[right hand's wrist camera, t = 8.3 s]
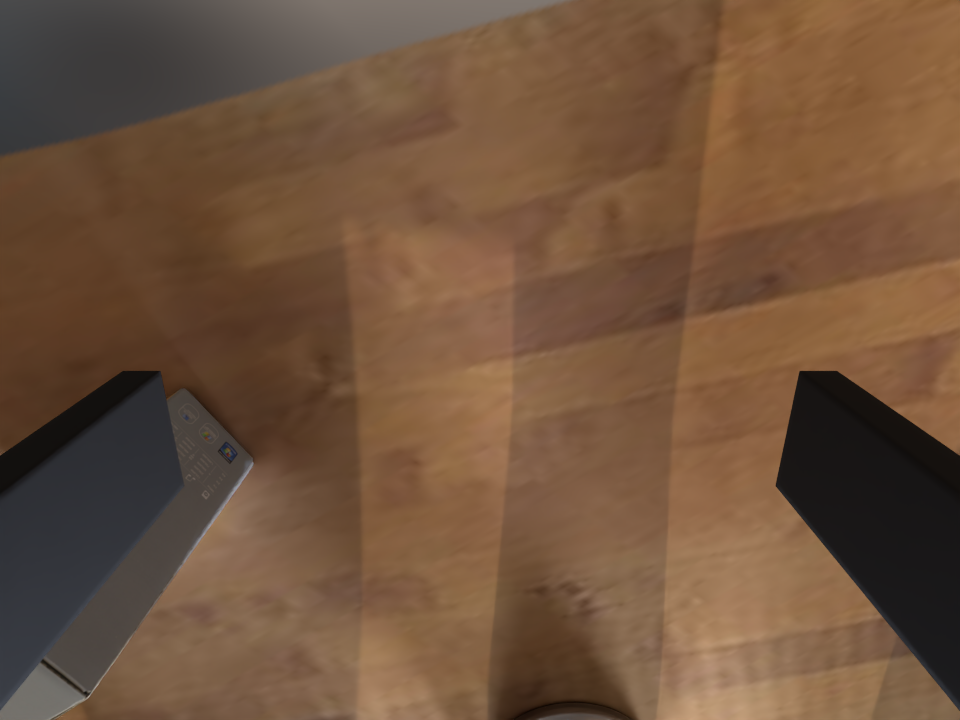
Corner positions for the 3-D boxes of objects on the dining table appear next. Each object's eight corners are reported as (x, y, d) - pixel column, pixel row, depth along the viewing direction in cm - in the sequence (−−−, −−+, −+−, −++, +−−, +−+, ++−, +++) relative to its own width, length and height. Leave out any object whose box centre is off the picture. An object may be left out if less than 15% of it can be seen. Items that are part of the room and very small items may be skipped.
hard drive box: (184, 381, 42) (-49, 585, 24) (259, 459, 44) (100, 701, 26) (36, 489, 45) (-272, 743, 27) (113, 557, 48) (-122, 834, 29)
